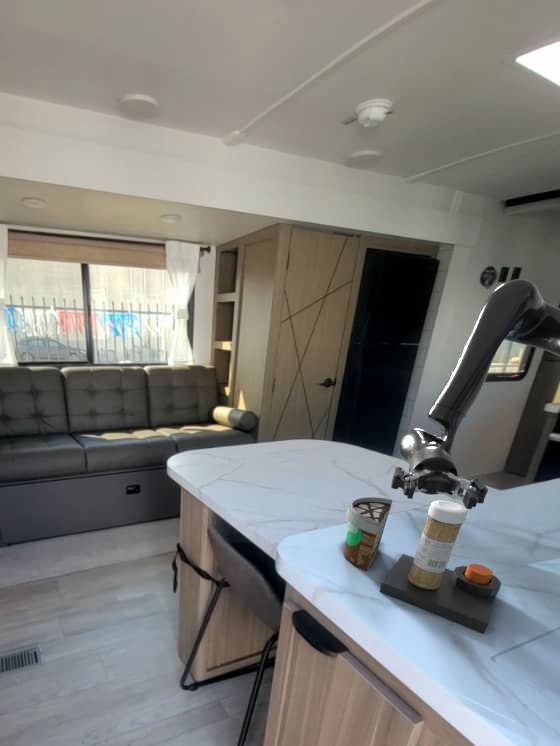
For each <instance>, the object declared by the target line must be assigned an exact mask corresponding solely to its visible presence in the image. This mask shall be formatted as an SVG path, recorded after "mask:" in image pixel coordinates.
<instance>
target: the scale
mask: <svg viewBox="0 0 560 746" xmlns="http://www.w3.org/2000/svg"><path fill="white" fill-rule="evenodd" d="M414 557H415V556H411V555H408V554H404V553H402V555H401V556H400V557H399V559H398V560H397V561H396V563H395V564H394V565H393V567H392V568H391V570H390V571H389V572H388V573H387V575H386V577H384V579H383V581H382V582H381V584H380V588H379V591H378V592H379V593H381V594H383V595H386V596H388V597H391V598H393V599H395V600H398V601H401V602H403V603H405V604H408V605H411V606H413V607H415V608H418V609H421V610H423V611H426V612H428V613H431V614H433V615H436V616H437V617H440V618H443V619H446V620H447V621H449V622H452V623H454V624H457V625H460V626H463V627H465V628H467V629H470V630H472V631H475V632H477V633H480V634H482V635H485V632H486V631H487V628H488V626H489V623H490V619H491V616H492V612H493V608H494V604H495V601H496V596H497V595H498V593H499V591H500V589H501V586H502V581H501V580H500V579H499V578H498V577H497V576H496V575H494V574H492V576H491V579H490V581H489V583H488V584H480V583H477V582H474V581H471V580H470V579H468V578H466V577H465V572H466V570H467V567H468V565H461V566H455V568H454V570H452V569H449V568H447V567H446V568H445V570H444V573H443V576H442V578H441V581H440V586H439V587H438V588H437V589H433V590H432V589H423V588H420V587H418V586H416V585H414V584H413V583H411V582H410V581H409V579H408V574H409V573H410V570H411V567H412V565H413V561H414Z"/></svg>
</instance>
